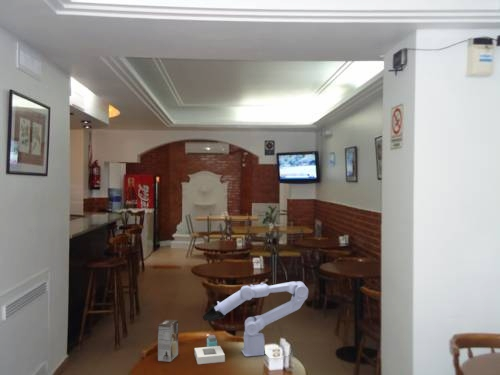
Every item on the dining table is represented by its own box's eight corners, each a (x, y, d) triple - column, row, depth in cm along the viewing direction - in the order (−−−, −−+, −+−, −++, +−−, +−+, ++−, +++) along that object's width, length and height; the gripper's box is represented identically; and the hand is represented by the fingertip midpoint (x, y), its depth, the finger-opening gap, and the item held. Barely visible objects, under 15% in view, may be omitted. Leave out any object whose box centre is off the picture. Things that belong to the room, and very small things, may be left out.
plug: (215, 346, 211) (215, 334, 211) (217, 351, 205) (217, 338, 206) (206, 347, 210) (206, 335, 210) (208, 351, 204) (208, 339, 205)
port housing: (220, 352, 204) (220, 345, 204) (224, 361, 192) (224, 354, 192) (194, 354, 201) (194, 348, 201) (197, 364, 189) (197, 357, 189)
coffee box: (165, 353, 202) (165, 319, 202) (178, 354, 201) (178, 319, 201) (157, 361, 193) (157, 324, 193) (171, 362, 192) (171, 325, 192)
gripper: (229, 297, 211) (206, 313, 210) (222, 293, 197) (197, 310, 197) (237, 310, 208) (213, 326, 207) (230, 307, 195) (204, 324, 194)
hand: (205, 319), depth 202 cm, fingers open, 7 cm apart
